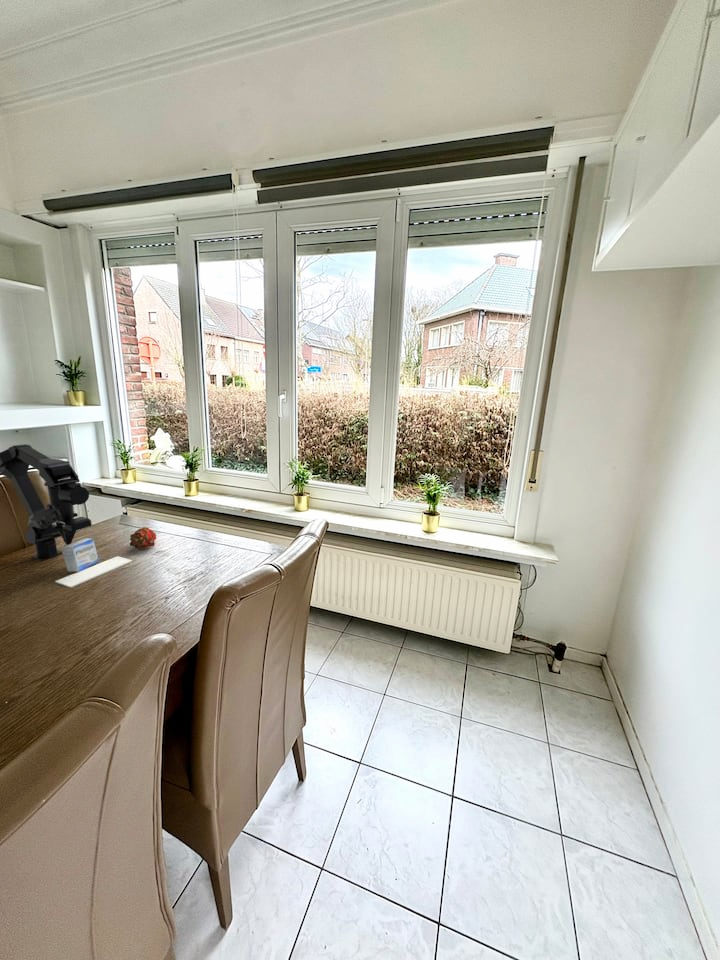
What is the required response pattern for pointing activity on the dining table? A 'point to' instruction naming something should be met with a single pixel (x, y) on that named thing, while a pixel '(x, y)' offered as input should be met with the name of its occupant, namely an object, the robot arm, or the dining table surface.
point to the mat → (93, 572)
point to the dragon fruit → (143, 538)
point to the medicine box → (80, 555)
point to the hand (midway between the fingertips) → (68, 544)
